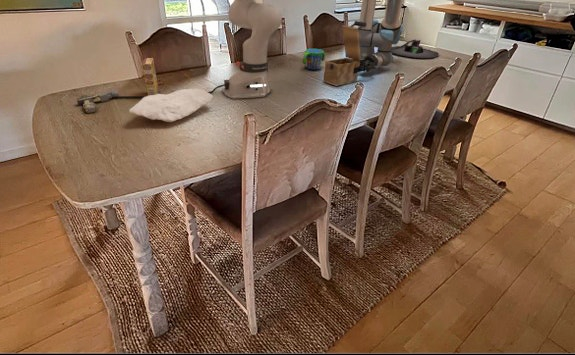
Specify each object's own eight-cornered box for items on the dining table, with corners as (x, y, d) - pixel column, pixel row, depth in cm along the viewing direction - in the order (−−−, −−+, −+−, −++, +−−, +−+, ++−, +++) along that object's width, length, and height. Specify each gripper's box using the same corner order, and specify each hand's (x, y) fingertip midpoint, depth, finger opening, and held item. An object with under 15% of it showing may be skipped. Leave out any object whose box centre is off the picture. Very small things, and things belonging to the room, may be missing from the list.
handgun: (128, 97, 156) (111, 87, 164) (86, 107, 144) (70, 97, 152) (129, 103, 157) (113, 94, 165) (88, 114, 146) (72, 103, 154)
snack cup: (318, 64, 219) (319, 47, 214) (329, 69, 212) (331, 51, 206) (297, 67, 212) (297, 49, 206) (307, 72, 204) (308, 54, 199)
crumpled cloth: (117, 110, 146) (113, 90, 140) (195, 92, 166) (194, 73, 160) (143, 139, 134) (140, 118, 128) (223, 116, 154) (224, 96, 148)
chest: (336, 86, 185) (339, 65, 179) (323, 81, 190) (325, 61, 185) (356, 81, 195) (359, 61, 189) (343, 77, 200) (346, 57, 195)
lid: (356, 29, 177) (368, 20, 180) (342, 26, 183) (354, 17, 186) (359, 60, 189) (370, 52, 192) (345, 56, 194) (356, 48, 198)
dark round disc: (449, 54, 250) (452, 40, 246) (416, 60, 233) (418, 45, 228) (408, 47, 275) (410, 34, 270) (376, 52, 257) (377, 38, 253)
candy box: (157, 97, 164) (152, 63, 155) (147, 98, 163) (141, 63, 155) (158, 91, 171) (153, 57, 163) (149, 91, 170) (143, 58, 162)
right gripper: (387, 73, 200) (362, 80, 187) (356, 64, 214) (330, 70, 201) (390, 59, 196) (364, 66, 183) (358, 50, 210) (332, 56, 197)
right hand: (347, 68), depth 192 cm, fingers closed on chest, 9 cm apart
